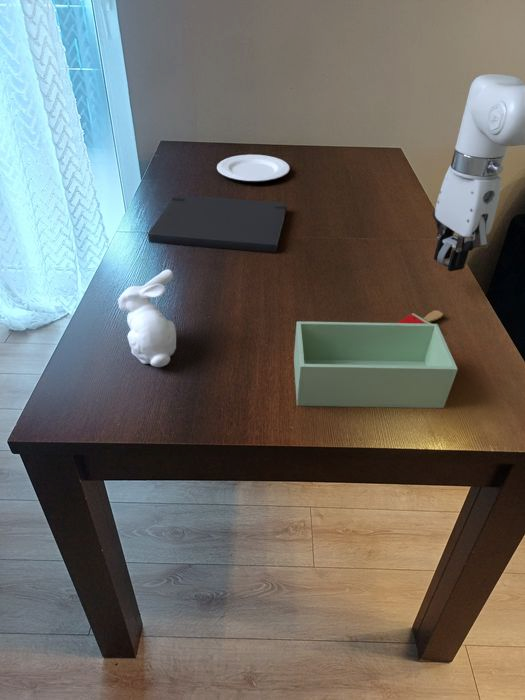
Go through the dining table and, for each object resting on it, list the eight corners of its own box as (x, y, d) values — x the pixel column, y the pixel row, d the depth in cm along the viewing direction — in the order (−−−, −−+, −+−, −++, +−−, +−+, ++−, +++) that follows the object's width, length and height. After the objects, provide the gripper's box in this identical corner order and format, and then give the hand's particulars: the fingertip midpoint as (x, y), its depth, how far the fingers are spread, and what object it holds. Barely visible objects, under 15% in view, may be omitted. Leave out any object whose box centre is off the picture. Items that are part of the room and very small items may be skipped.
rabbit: (121, 336, 83) (108, 274, 75) (174, 321, 86) (167, 260, 78) (141, 380, 74) (129, 316, 67) (200, 362, 78) (194, 299, 70)
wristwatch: (443, 272, 89) (450, 247, 85) (431, 266, 90) (437, 241, 87) (464, 262, 91) (472, 238, 88) (452, 257, 93) (459, 232, 90)
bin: (425, 361, 79) (437, 323, 74) (443, 408, 71) (458, 369, 66) (293, 359, 79) (296, 321, 74) (296, 405, 71) (300, 366, 66)
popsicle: (451, 315, 86) (395, 348, 79) (449, 321, 87) (394, 355, 80) (430, 303, 89) (374, 334, 82) (428, 310, 90) (373, 341, 83)
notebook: (148, 242, 108) (275, 253, 105) (147, 233, 107) (276, 244, 104) (176, 202, 125) (286, 211, 122) (175, 194, 123) (287, 202, 120)
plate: (203, 169, 143) (202, 162, 142) (261, 156, 153) (261, 149, 151) (244, 192, 130) (244, 185, 129) (304, 176, 140) (304, 170, 139)
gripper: (532, 177, 74) (495, 282, 86) (463, 146, 86) (438, 242, 98) (492, 183, 72) (459, 290, 84) (426, 149, 84) (405, 247, 96)
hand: (448, 263), depth 91 cm, fingers closed on wristwatch, 3 cm apart
